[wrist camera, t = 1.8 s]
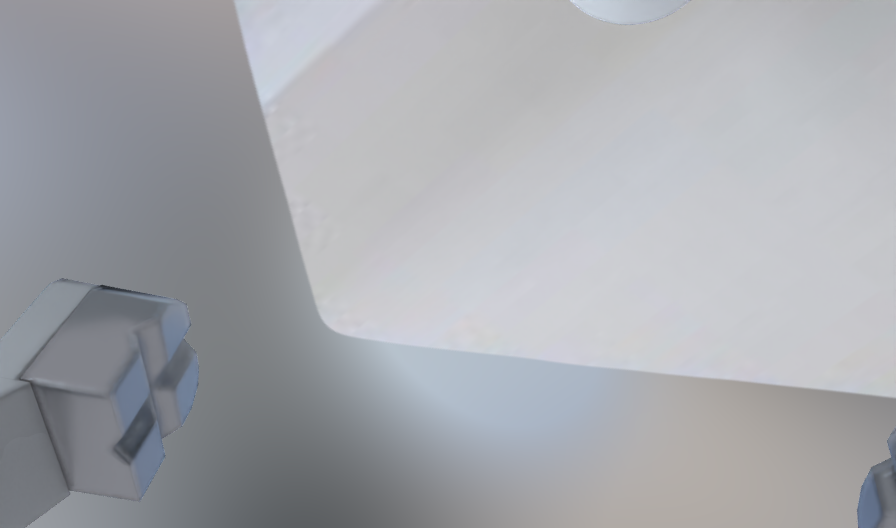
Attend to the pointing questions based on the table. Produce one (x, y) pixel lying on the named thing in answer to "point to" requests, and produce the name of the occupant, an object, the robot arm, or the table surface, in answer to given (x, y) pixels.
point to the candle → (629, 10)
